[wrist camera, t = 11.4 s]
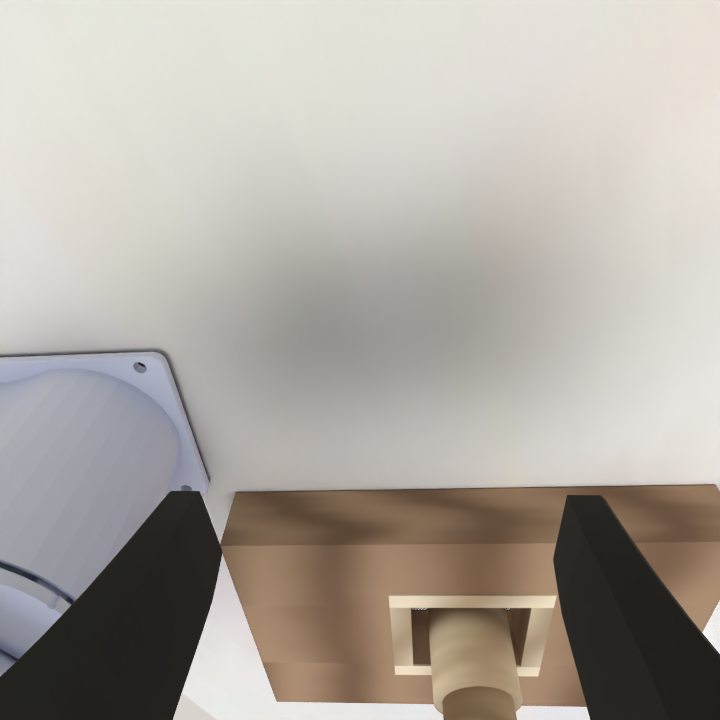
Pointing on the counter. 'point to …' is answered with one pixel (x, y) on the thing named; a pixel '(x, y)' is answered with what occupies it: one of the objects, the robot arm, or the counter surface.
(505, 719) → the beech peg
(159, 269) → the counter surface
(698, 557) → the socket board
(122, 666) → the robot arm
